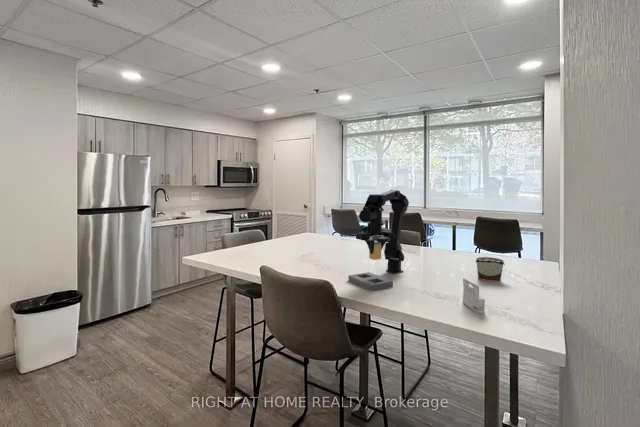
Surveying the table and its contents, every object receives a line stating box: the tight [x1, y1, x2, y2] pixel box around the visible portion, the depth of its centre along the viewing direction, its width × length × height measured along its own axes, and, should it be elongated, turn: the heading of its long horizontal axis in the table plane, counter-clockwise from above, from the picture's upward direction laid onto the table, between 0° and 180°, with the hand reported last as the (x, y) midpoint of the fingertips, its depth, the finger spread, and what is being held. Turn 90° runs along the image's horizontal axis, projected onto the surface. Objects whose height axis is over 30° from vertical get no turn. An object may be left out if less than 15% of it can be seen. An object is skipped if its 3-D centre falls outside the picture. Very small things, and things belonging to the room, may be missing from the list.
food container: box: [475, 256, 505, 283], centre depth 158 cm, size 12×6×10 cm, turn 65°
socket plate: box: [348, 271, 394, 292], centre depth 152 cm, size 12×18×2 cm, turn 28°
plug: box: [368, 240, 382, 261], centre depth 157 cm, size 4×4×8 cm
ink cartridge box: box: [462, 278, 486, 314], centre depth 121 cm, size 2×11×10 cm, turn 5°
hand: (375, 253), depth 157 cm, fingers closed on plug, 4 cm apart
